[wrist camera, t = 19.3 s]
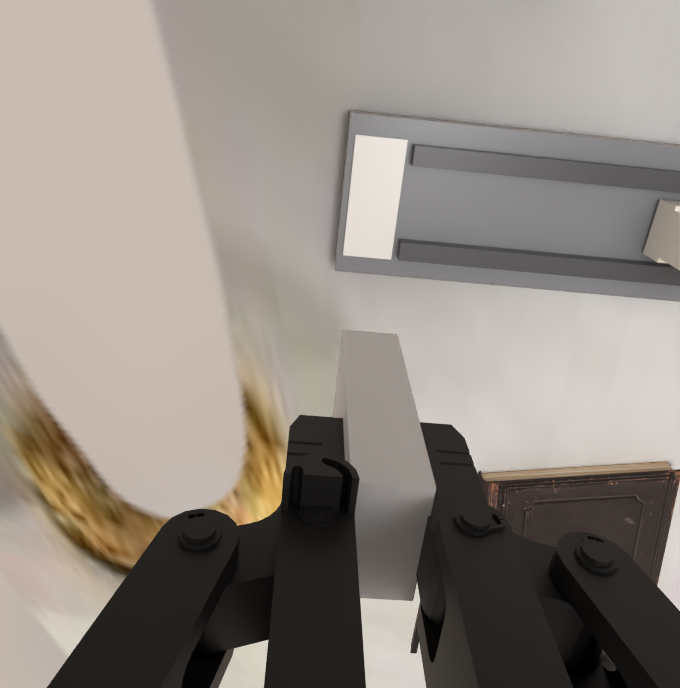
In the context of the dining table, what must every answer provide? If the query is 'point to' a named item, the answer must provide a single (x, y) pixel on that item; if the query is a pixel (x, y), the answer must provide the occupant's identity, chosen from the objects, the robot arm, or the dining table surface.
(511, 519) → the hardcover book
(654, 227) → the breaker handle
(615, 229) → the panel
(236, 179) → the dining table surface
